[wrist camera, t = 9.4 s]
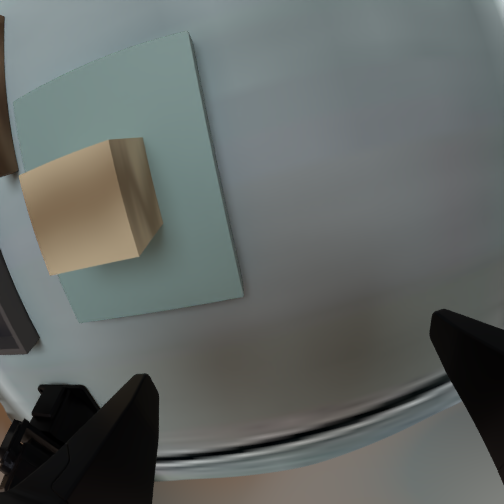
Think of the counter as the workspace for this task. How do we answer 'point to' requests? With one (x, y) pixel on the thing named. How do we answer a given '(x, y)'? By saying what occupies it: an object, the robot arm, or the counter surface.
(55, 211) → the beech cube
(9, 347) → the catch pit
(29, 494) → the robot arm
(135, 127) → the platform
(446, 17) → the counter surface
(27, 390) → the counter surface
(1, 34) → the cubby
